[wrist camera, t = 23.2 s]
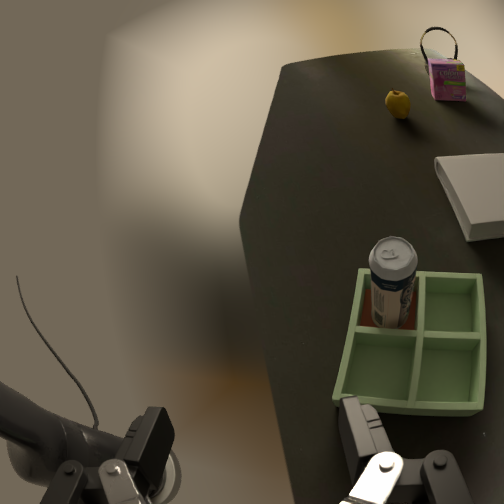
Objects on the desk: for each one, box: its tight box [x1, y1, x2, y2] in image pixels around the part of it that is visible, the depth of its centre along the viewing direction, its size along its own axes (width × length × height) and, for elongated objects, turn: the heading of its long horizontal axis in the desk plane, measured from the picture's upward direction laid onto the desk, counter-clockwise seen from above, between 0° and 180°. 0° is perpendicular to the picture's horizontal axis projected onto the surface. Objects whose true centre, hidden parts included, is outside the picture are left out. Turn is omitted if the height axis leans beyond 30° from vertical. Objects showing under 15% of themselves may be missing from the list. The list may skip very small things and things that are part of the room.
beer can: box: [369, 236, 418, 329], centre depth 29 cm, size 5×5×12 cm
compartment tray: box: [332, 269, 486, 416], centre depth 28 cm, size 16×16×4 cm
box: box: [427, 58, 466, 101], centre depth 58 cm, size 10×6×12 cm, turn 71°
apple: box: [386, 88, 410, 119], centre depth 59 cm, size 6×6×8 cm
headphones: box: [420, 27, 458, 76], centre depth 63 cm, size 9×15×20 cm, turn 86°
